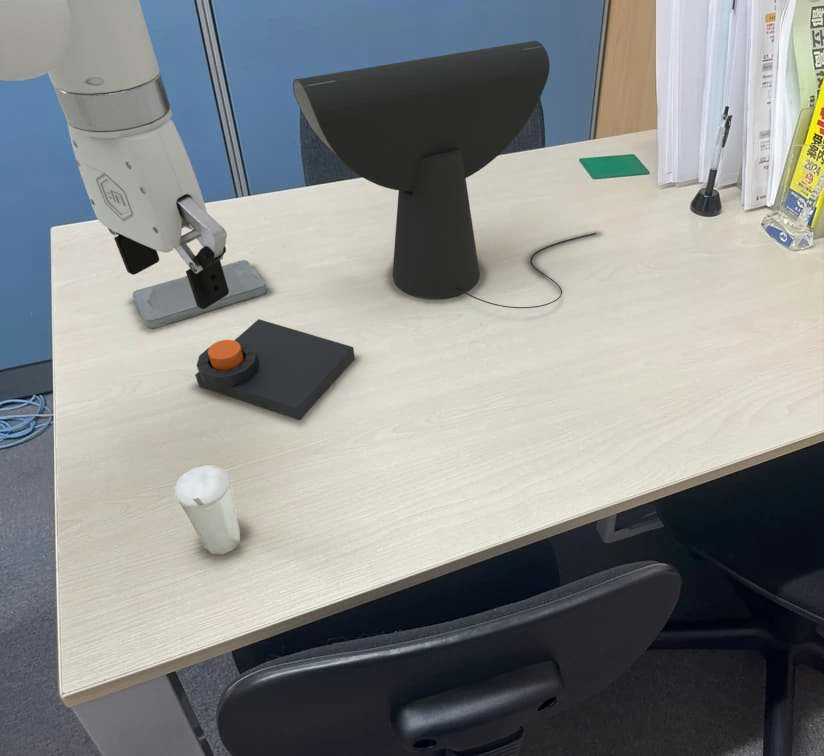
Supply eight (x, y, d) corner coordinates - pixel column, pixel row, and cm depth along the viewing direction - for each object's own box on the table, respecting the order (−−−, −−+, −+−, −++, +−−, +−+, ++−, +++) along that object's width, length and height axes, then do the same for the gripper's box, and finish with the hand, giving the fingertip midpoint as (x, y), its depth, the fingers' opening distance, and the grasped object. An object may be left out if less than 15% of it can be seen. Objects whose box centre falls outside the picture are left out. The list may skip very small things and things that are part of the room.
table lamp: (476, 194, 123) (477, 4, 103) (622, 242, 112) (655, 40, 93) (312, 303, 97) (272, 77, 78) (482, 379, 86) (486, 140, 67)
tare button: (204, 365, 82) (200, 354, 81) (225, 347, 85) (221, 336, 83) (230, 374, 81) (226, 362, 80) (250, 355, 84) (247, 344, 82)
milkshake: (196, 573, 65) (166, 503, 58) (199, 526, 69) (170, 456, 62) (248, 562, 66) (224, 493, 59) (247, 517, 70) (225, 447, 63)
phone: (269, 293, 99) (267, 285, 98) (149, 330, 92) (146, 322, 91) (248, 266, 104) (246, 258, 103) (133, 299, 97) (130, 291, 96)
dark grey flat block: (192, 390, 83) (185, 367, 81) (259, 330, 92) (254, 308, 90) (295, 424, 80) (290, 402, 77) (355, 358, 89) (352, 336, 86)
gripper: (4, 91, 56) (85, 273, 68) (146, 145, 49) (209, 336, 61) (90, 65, 61) (152, 239, 72) (230, 110, 54) (274, 294, 66)
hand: (178, 283), depth 67 cm, fingers open, 9 cm apart
